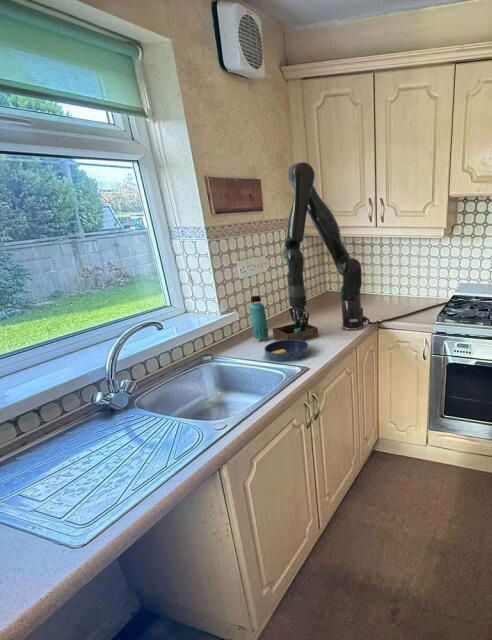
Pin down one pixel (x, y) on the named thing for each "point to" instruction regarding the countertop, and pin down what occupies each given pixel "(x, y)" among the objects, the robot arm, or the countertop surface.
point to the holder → (288, 333)
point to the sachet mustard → (280, 351)
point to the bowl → (293, 348)
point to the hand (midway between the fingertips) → (301, 331)
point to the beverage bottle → (258, 319)
